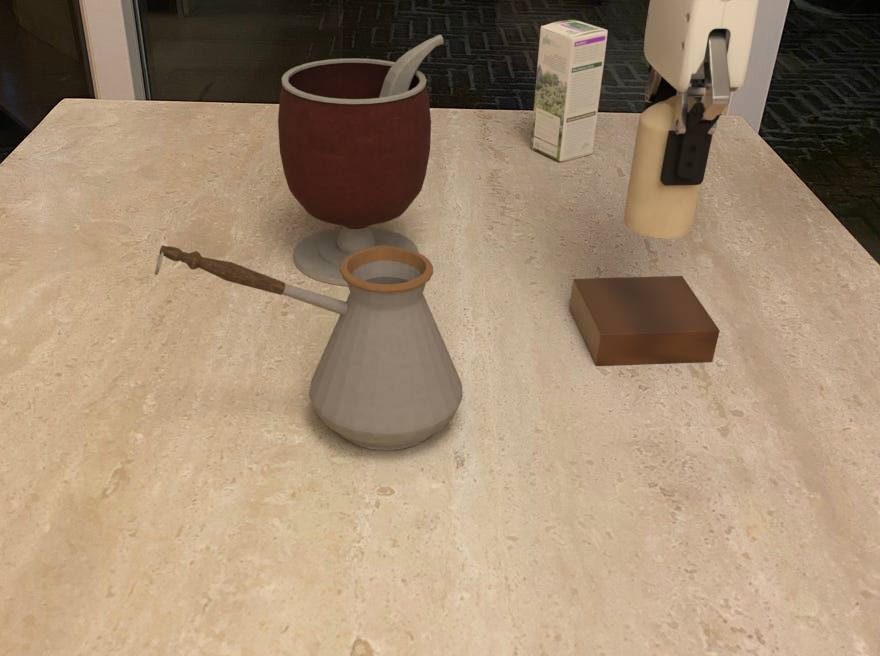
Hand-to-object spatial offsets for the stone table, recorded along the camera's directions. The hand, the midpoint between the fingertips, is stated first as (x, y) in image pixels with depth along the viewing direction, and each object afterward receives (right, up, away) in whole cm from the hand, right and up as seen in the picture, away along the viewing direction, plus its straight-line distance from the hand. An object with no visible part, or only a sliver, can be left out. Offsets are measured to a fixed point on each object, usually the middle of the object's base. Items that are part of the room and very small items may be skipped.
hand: (668, 166), depth 78 cm
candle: (0, -4, +3) cm, 5 cm away
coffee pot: (-27, -21, -2) cm, 34 cm away
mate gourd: (-25, -3, +21) cm, 32 cm away
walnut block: (0, -12, +9) cm, 15 cm away
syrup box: (-1, +16, +45) cm, 48 cm away
